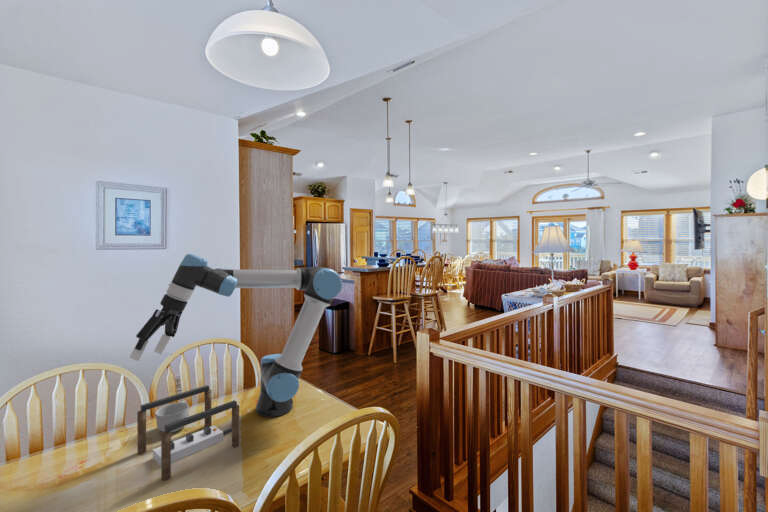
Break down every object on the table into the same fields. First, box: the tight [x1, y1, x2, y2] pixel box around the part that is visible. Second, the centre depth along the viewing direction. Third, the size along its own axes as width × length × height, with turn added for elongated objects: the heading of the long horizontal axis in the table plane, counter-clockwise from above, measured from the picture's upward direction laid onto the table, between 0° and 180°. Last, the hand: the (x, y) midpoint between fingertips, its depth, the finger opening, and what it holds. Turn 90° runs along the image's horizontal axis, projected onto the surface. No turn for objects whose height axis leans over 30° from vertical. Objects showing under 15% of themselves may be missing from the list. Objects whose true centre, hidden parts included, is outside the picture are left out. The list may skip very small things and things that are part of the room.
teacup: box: [154, 400, 190, 434], centre depth 135 cm, size 14×11×8 cm
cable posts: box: [136, 388, 240, 482], centre depth 121 cm, size 24×22×14 cm
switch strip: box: [152, 425, 232, 468], centre depth 123 cm, size 26×7×5 cm, turn 142°
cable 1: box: [140, 384, 210, 411], centre depth 127 cm, size 22×2×2 cm, turn 142°
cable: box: [165, 399, 238, 432], centre depth 114 cm, size 22×2×2 cm, turn 142°
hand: (146, 355), depth 118 cm, fingers open, 13 cm apart
